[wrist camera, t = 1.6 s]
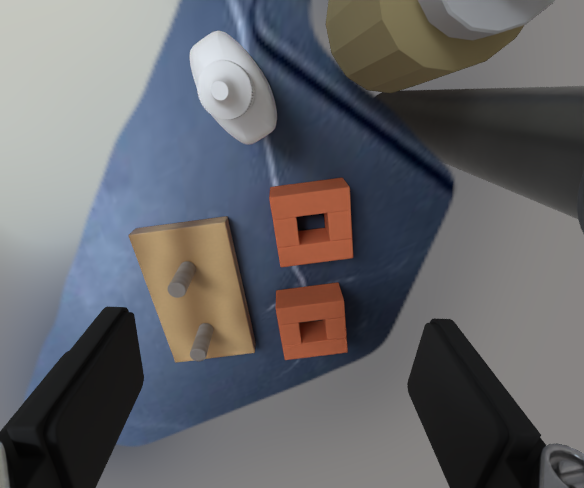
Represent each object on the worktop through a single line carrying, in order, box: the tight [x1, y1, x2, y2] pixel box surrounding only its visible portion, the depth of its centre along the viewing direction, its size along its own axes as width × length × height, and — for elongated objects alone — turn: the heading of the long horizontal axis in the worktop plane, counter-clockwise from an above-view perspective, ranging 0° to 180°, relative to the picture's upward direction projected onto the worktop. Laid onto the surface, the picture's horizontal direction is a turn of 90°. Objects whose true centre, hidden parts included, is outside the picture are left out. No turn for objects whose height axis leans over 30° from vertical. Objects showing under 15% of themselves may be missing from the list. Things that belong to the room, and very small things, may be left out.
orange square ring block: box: [276, 283, 348, 360], centre depth 31 cm, size 6×6×3 cm
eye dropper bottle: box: [190, 31, 277, 145], centre depth 18 cm, size 4×6×12 cm
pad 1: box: [269, 178, 353, 267], centre depth 27 cm, size 6×6×3 cm
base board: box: [129, 216, 256, 362], centre depth 28 cm, size 8×14×5 cm, turn 7°
